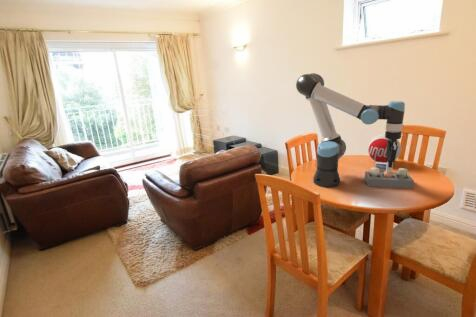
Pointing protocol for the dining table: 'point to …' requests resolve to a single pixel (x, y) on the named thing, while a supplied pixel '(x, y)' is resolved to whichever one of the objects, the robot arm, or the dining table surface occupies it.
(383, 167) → the medicine box
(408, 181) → the grey slotted tray
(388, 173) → the peach egg
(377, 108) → the robot arm
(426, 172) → the dining table surface
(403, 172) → the pale green egg
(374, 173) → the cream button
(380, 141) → the red logo ball
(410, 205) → the dining table surface
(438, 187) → the dining table surface
